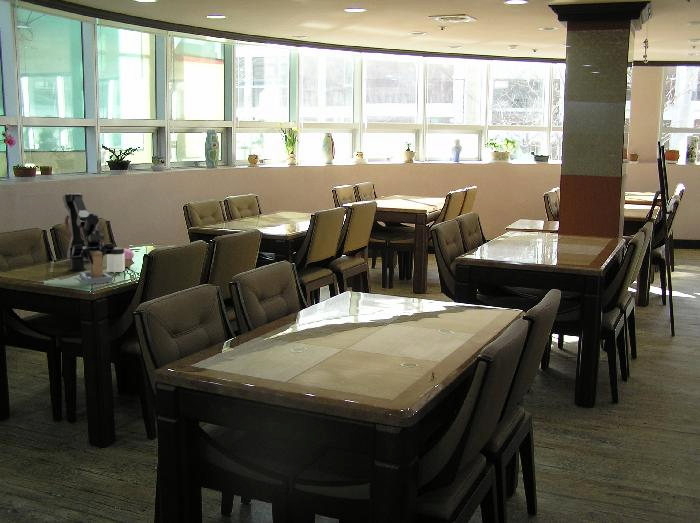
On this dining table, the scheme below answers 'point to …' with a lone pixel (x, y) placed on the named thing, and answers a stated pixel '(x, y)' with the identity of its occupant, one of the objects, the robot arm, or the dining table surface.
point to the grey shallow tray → (87, 278)
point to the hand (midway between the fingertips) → (97, 263)
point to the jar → (116, 260)
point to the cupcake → (128, 257)
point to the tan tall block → (96, 264)
